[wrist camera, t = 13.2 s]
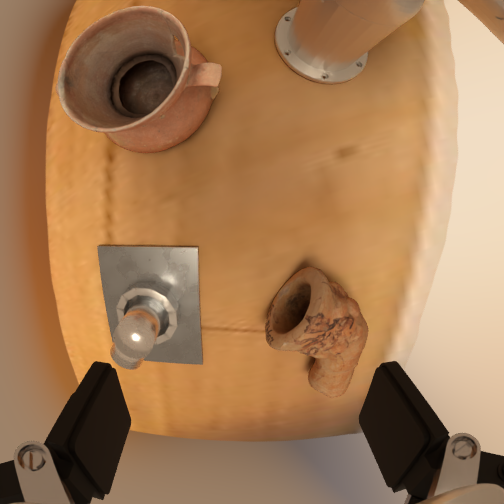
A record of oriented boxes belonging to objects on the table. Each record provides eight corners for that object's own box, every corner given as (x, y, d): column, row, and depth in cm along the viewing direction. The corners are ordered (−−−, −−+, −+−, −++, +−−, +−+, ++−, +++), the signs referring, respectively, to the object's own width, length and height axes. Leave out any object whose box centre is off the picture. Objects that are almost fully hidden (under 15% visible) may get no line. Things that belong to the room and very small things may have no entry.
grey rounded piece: (142, 286, 37) (120, 316, 29) (172, 304, 38) (158, 337, 30) (124, 324, 38) (103, 358, 30) (152, 341, 39) (137, 377, 31)
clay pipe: (352, 258, 42) (262, 254, 36) (403, 283, 33) (307, 286, 27) (323, 362, 47) (242, 375, 41) (360, 399, 37) (271, 424, 31)
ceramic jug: (234, 52, 30) (234, -7, 16) (217, 159, 34) (205, 151, 20) (104, 53, 28) (53, 13, 15) (86, 152, 32) (19, 149, 18)
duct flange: (99, 245, 36) (90, 250, 33) (198, 246, 36) (195, 252, 34) (117, 355, 40) (111, 365, 38) (203, 362, 41) (201, 373, 39)
